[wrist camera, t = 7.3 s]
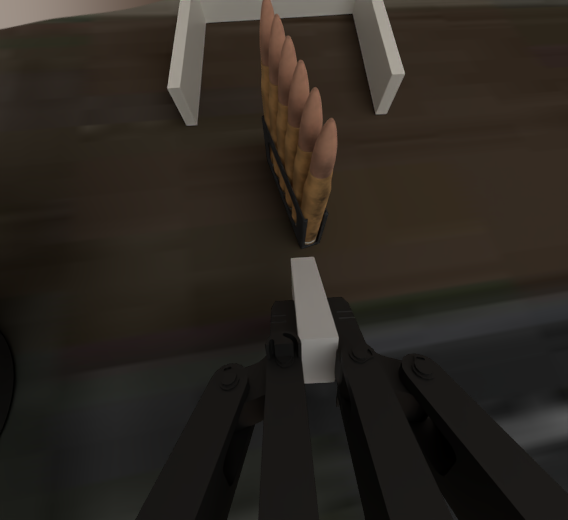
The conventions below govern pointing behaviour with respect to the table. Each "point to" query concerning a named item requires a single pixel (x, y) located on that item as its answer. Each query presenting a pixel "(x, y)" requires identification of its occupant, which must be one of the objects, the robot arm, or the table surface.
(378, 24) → the box
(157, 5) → the table surface
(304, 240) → the ammunition clip
